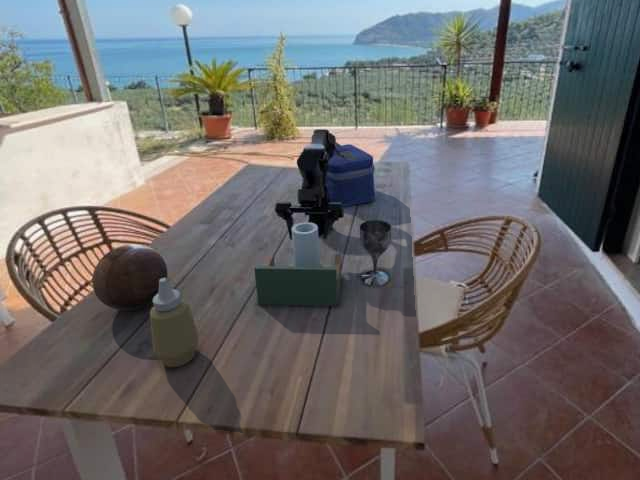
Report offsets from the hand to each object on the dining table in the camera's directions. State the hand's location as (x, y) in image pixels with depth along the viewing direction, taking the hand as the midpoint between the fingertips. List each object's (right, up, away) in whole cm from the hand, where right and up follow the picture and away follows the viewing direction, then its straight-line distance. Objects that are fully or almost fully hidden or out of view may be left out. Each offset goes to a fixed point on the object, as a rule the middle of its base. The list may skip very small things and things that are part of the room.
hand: (307, 239), depth 106 cm
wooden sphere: (-39, -14, -13) cm, 43 cm away
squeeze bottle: (-22, -20, -29) cm, 41 cm away
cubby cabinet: (0, -12, -8) cm, 14 cm away
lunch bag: (+7, +12, +54) cm, 56 cm away
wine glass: (+18, -10, -3) cm, 21 cm away
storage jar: (0, -9, 0) cm, 9 cm away
